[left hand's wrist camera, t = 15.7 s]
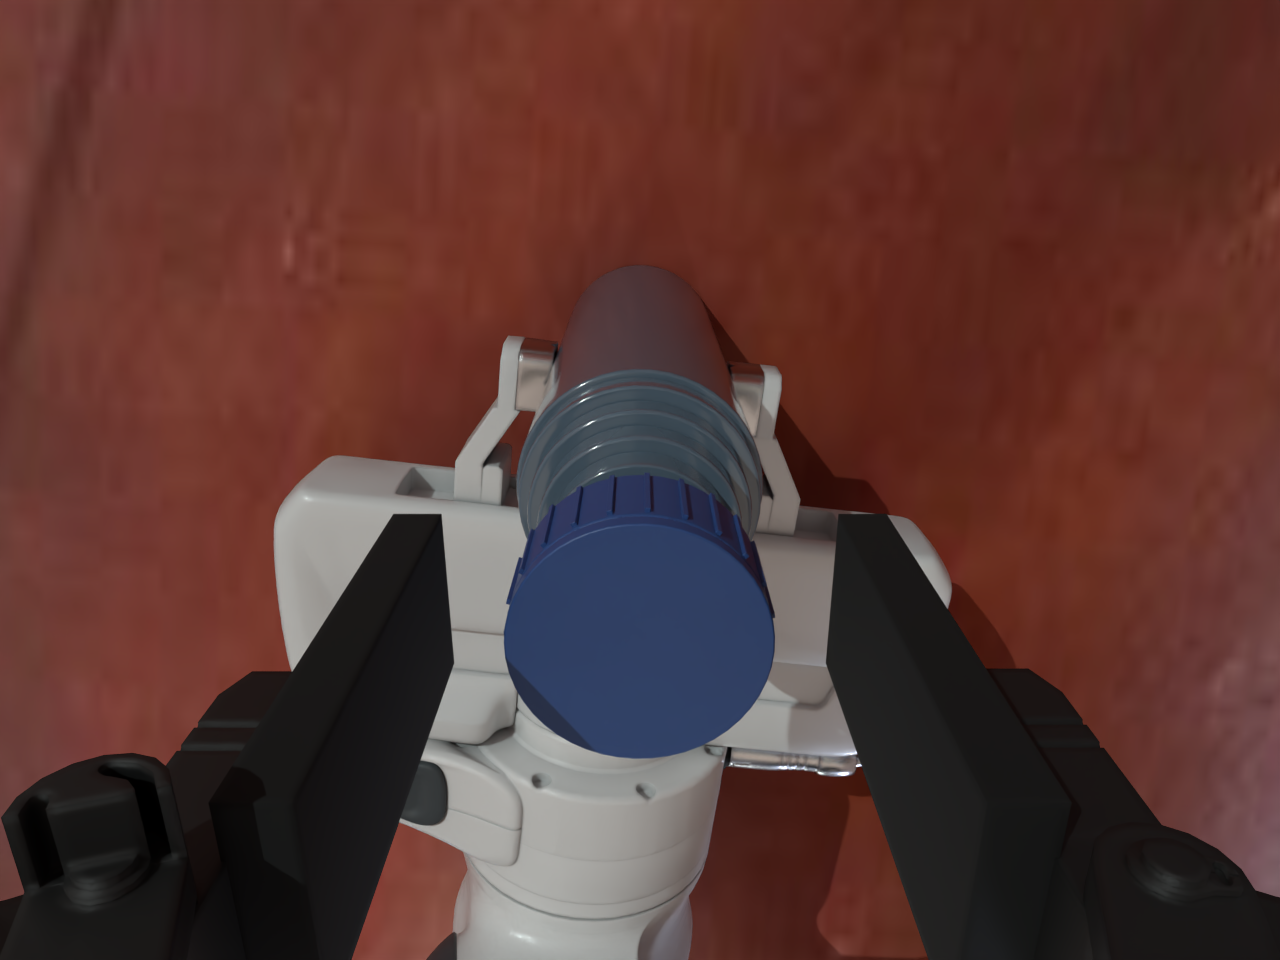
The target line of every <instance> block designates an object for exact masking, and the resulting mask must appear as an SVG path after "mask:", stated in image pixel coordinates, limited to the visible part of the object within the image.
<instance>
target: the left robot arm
mask: <svg viewBox="0 0 1280 960" xmlns="http://www.w3.org/2000/svg"><path fill="white" fill-rule="evenodd" d="M453 665H454V654H453V642H452V630H451V618H450V607H449V595H448V583H447V572H446V560H445V548H444V537H443V525H442V514H393V515H392V517H391V518H390V520H389V521H388V523H387V525H386V526H385V528H384V529H383V531H382V532H381V534H380V535H379V537H378V539H377V540H376V542H375V543H374V545H373V546H372V548H371V550H370V551H369V553H368V554H367V556H366V557H365V559H364V560H363V562H362V564H361V565H360V567H359V568H358V570H357V571H356V573H355V575H354V576H353V578H352V579H351V581H350V582H349V584H348V585H347V587H346V589H345V590H344V592H343V593H342V595H341V596H340V598H339V599H338V601H337V603H336V604H335V606H334V607H333V609H332V610H331V612H330V614H329V615H328V617H327V618H326V620H325V621H324V623H323V624H322V626H321V628H320V629H319V631H318V632H317V634H316V635H315V637H314V639H313V640H312V642H311V643H310V645H309V646H308V648H307V649H306V651H305V653H304V654H303V656H302V657H301V659H300V660H299V662H298V664H297V665H296V667H295V668H294V670H293V671H292V672H251V673H249V674H248V675H246V676H245V677H244V678H242V679H241V680H239V681H238V682H236V683H235V684H234V685H232V686H231V687H229V688H228V689H226V690H225V691H224V692H222V693H221V694H219V695H218V696H217V698H216V699H215V700H214V702H213V703H212V704H211V706H210V707H209V708H208V710H207V711H206V712H205V714H204V715H203V717H202V718H201V719H200V721H199V722H198V728H194V729H193V730H192V731H191V733H190V734H189V735H188V737H187V738H186V739H185V741H184V742H183V743H182V745H181V751H176V753H175V754H174V755H173V757H172V758H171V760H170V761H169V762H168V764H167V765H166V766H165V765H164V764H162V763H161V762H160V761H159V760H158V759H156V758H154V757H150V756H145V755H140V754H135V753H126V754H113V755H103V756H99V757H95V758H92V759H88V760H85V761H81V762H77V763H74V764H71V765H69V766H67V767H65V768H63V769H61V770H58V771H56V772H54V773H52V774H50V775H48V776H46V777H44V778H42V779H40V780H39V781H38V782H36V783H35V784H34V785H32V786H31V787H30V788H28V789H27V790H26V791H24V792H23V793H22V794H20V795H19V796H18V797H16V799H15V800H14V801H13V803H12V804H11V805H10V807H9V808H8V809H7V811H6V812H5V813H4V815H3V816H2V817H1V819H2V822H3V825H4V828H5V832H6V835H7V838H8V841H9V844H10V847H11V851H12V854H13V857H14V860H15V863H16V866H17V869H18V873H19V876H20V879H21V882H22V885H23V888H24V895H21V896H17V897H14V898H11V899H7V900H4V901H0V960H351V959H352V956H353V953H354V950H355V948H356V945H357V942H358V939H359V936H360V933H361V930H362V927H363V924H364V922H365V919H366V916H367V913H368V910H369V907H370V904H371V901H372V899H373V896H374V893H375V890H376V887H377V884H378V881H379V878H380V876H381V873H382V870H383V867H384V864H385V861H386V858H387V855H388V853H389V850H390V847H391V844H392V841H393V838H394V835H395V832H396V830H397V827H398V824H399V821H400V818H401V815H402V812H403V809H404V806H405V804H406V801H407V798H408V795H409V792H410V789H411V786H412V783H413V781H414V778H415V775H416V772H417V769H418V766H419V763H420V760H421V758H422V755H423V752H424V749H425V746H426V743H427V740H428V737H429V735H430V732H431V729H432V726H433V723H434V720H435V717H436V714H437V712H438V709H439V706H440V703H441V700H442V697H443V694H444V691H445V688H446V686H447V683H448V680H449V677H450V674H451V671H452V668H453ZM826 665H827V668H828V671H829V674H830V677H831V680H832V683H833V686H834V688H835V691H836V694H837V697H838V700H839V703H840V706H841V709H842V712H843V714H844V717H845V720H846V723H847V726H848V729H849V732H850V735H851V737H852V740H853V743H854V746H855V749H856V752H857V755H858V758H859V760H860V763H861V766H862V769H863V772H864V775H865V778H866V781H867V783H868V786H869V789H870V792H871V795H872V798H873V801H874V804H875V806H876V809H877V812H878V815H879V818H880V821H881V824H882V827H883V830H884V832H885V835H886V838H887V841H888V844H889V847H890V850H891V853H892V855H893V858H894V861H895V864H896V867H897V870H898V873H899V876H900V878H901V881H902V884H903V887H904V890H905V893H906V896H907V899H908V901H909V904H910V907H911V910H912V913H913V916H914V919H915V922H916V924H917V927H918V930H919V933H920V936H921V939H922V942H923V945H924V948H925V950H926V953H927V956H928V959H929V960H1280V897H1275V896H1272V895H1269V894H1265V893H1262V892H1259V891H1256V890H1255V889H1254V888H1253V886H1252V885H1251V883H1250V882H1249V880H1248V879H1247V877H1246V876H1245V874H1244V872H1243V871H1242V869H1241V868H1239V867H1238V866H1237V865H1236V864H1235V863H1233V862H1232V861H1231V860H1230V859H1229V858H1228V857H1226V856H1225V855H1224V854H1223V853H1222V852H1221V851H1219V850H1218V849H1217V848H1215V847H1213V846H1211V845H1209V844H1207V843H1205V842H1204V841H1202V840H1200V839H1198V838H1196V837H1194V836H1192V835H1191V834H1189V833H1185V832H1182V831H1179V830H1176V829H1173V828H1169V827H1166V826H1163V825H1161V824H1160V822H1159V821H1158V820H1157V818H1156V817H1155V816H1154V814H1153V813H1152V812H1151V810H1150V809H1149V808H1148V806H1147V805H1146V804H1145V802H1144V801H1143V800H1142V798H1141V797H1140V796H1139V794H1138V793H1137V792H1136V790H1135V789H1134V788H1133V786H1132V785H1131V784H1130V782H1129V781H1128V780H1127V778H1126V777H1125V776H1124V774H1123V773H1122V772H1121V770H1120V769H1119V768H1118V766H1117V765H1116V764H1115V762H1114V761H1113V760H1112V758H1111V757H1110V755H1109V754H1108V753H1107V751H1106V750H1105V749H1104V748H1100V745H1099V741H1098V739H1097V738H1096V737H1095V735H1094V734H1093V733H1092V731H1091V730H1090V729H1089V727H1088V726H1087V725H1083V722H1082V718H1081V717H1080V715H1079V714H1078V713H1077V711H1076V710H1075V709H1074V707H1073V706H1072V705H1071V703H1070V702H1069V701H1068V699H1067V698H1066V697H1065V695H1064V694H1063V693H1062V692H1061V691H1060V690H1058V689H1057V688H1055V687H1054V686H1052V685H1051V684H1050V683H1048V682H1047V681H1045V680H1044V679H1042V678H1041V677H1040V676H1038V675H1037V674H1035V673H1034V672H1032V671H1031V670H1029V669H986V668H985V667H984V665H983V664H982V662H981V660H980V659H979V657H978V656H977V654H976V653H975V651H974V649H973V648H972V646H971V645H970V643H969V642H968V640H967V639H966V637H965V635H964V634H963V632H962V631H961V629H960V628H959V626H958V624H957V623H956V621H955V620H954V618H953V617H952V615H951V614H950V612H949V610H948V609H947V607H946V606H945V604H944V603H943V601H942V599H941V598H940V596H939V595H938V593H937V592H936V590H935V589H934V587H933V585H932V584H931V582H930V581H929V579H928V578H927V576H926V575H925V573H924V571H923V570H922V568H921V567H920V565H919V564H918V562H917V560H916V559H915V557H914V556H913V554H912V553H911V551H910V550H909V548H908V546H907V545H906V543H905V542H904V540H903V539H902V537H901V535H900V534H899V532H898V531H897V529H896V528H895V526H894V525H893V523H892V521H891V520H890V518H889V517H888V515H887V514H838V525H837V537H836V548H835V560H834V572H833V583H832V595H831V607H830V618H829V630H828V642H827V654H826Z"/></svg>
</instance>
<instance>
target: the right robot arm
mask: <svg viewBox="0 0 1280 960" xmlns="http://www.w3.org/2000/svg"><path fill="white" fill-rule="evenodd" d="M557 353H558V342H556V341H548V340H541V339H533V338H525V337H519V336H508V337H507V339H506V340H505V342H504V344H503V349H502V355H501V361H500V377H499V393H498V397H497V399H496V400H495V401H494V403H493V404H492V406H491V407H490V408H489V410H488V411H487V413H486V414H485V415H484V417H483V418H482V420H481V421H480V423H479V424H478V425H477V427H476V428H475V430H474V431H473V432H472V434H471V435H470V437H469V438H468V440H467V442H466V443H465V445H464V447H463V449H462V450H461V452H460V454H459V456H458V458H457V459H456V462H455V468H451V467H442V466H433V465H424V464H415V463H406V462H397V461H388V460H378V459H369V458H361V457H352V456H332V457H329V458H327V459H326V460H324V461H323V462H322V463H321V464H319V465H318V466H317V467H316V468H315V469H313V470H312V471H311V472H310V473H309V474H308V475H306V476H305V477H304V478H303V479H302V480H301V481H300V482H299V483H298V484H297V485H296V486H295V487H294V489H293V490H292V491H291V492H290V493H289V494H288V496H287V497H286V498H285V500H284V501H283V503H282V504H281V506H280V508H279V510H278V513H277V515H276V519H275V525H274V559H275V573H276V585H277V594H278V602H279V609H280V616H281V623H282V629H283V635H284V640H285V646H286V651H287V655H288V660H289V664H290V668H291V671H293V670H294V668H295V667H296V665H297V664H298V662H299V660H300V659H301V657H302V656H303V654H304V653H305V651H306V649H307V648H308V646H309V645H310V643H311V642H312V640H313V639H314V637H315V635H316V634H317V632H318V631H319V629H320V628H321V626H322V624H323V623H324V621H325V620H326V618H327V617H328V615H329V614H330V612H331V610H332V609H333V607H334V606H335V604H336V603H337V601H338V599H339V598H340V596H341V595H342V593H343V592H344V590H345V589H346V587H347V585H348V584H349V582H350V581H351V579H352V578H353V576H354V575H355V573H356V571H357V570H358V568H359V567H360V565H361V564H362V562H363V560H364V559H365V557H366V556H367V554H368V553H369V551H370V550H371V548H372V546H373V545H374V543H375V542H376V540H377V539H378V537H379V535H380V534H381V532H382V531H383V529H384V528H385V526H386V525H387V523H388V521H389V520H390V518H391V517H392V515H393V514H442V525H443V537H444V548H445V560H446V572H447V583H448V595H449V607H450V618H451V630H452V642H453V654H454V665H453V668H452V671H451V674H450V677H449V680H448V683H447V686H446V688H445V691H444V694H443V697H442V700H441V703H440V706H439V709H438V712H437V714H436V717H435V720H434V723H433V726H432V729H431V732H430V735H429V737H428V740H427V743H426V746H425V749H424V752H423V755H422V758H421V760H420V763H419V766H418V769H417V772H416V775H415V778H414V781H413V783H412V786H411V789H410V792H409V795H408V798H407V801H406V804H405V806H404V809H403V812H402V815H401V818H400V821H399V822H400V823H402V824H405V825H408V826H410V827H412V828H415V829H417V830H419V831H422V832H424V833H426V834H429V835H431V836H433V837H435V838H437V839H439V840H441V841H444V842H446V843H448V844H450V845H451V846H453V847H455V848H457V849H459V850H461V851H463V853H464V857H465V860H466V864H467V868H468V871H467V873H466V875H465V877H464V879H463V881H462V884H461V887H460V890H459V893H458V896H457V899H456V904H455V910H454V920H453V933H452V934H450V935H449V936H448V937H447V938H446V939H445V940H444V941H442V942H441V943H440V944H439V945H438V947H437V948H436V949H435V950H434V951H433V952H432V953H431V954H430V956H429V957H428V958H427V959H426V960H688V957H689V952H690V948H691V940H692V927H693V922H692V910H691V905H690V900H689V895H690V893H691V892H692V890H693V889H694V887H695V885H696V883H697V881H698V879H699V877H700V875H701V873H702V871H703V868H704V865H705V862H706V858H707V855H708V850H709V844H710V838H711V833H712V827H713V822H714V816H715V811H716V805H717V800H718V795H719V790H720V785H721V777H722V771H723V769H725V768H726V766H727V767H737V768H747V769H758V770H772V771H778V770H780V771H782V770H794V769H795V770H798V771H802V770H803V771H809V772H814V773H815V774H818V775H822V776H830V777H842V776H851V775H853V774H854V773H855V771H856V767H862V766H861V763H860V760H859V758H858V755H857V752H856V749H855V746H854V743H853V740H852V737H851V735H850V732H849V729H848V726H847V723H846V720H845V717H844V714H843V712H842V709H841V706H840V703H839V700H838V697H837V694H836V691H835V688H834V686H833V683H832V680H831V677H830V674H829V671H828V668H827V665H826V654H827V642H828V630H829V618H830V607H831V595H832V583H833V572H834V560H835V548H836V537H837V525H838V514H873V513H864V512H854V511H845V510H836V509H827V508H818V507H809V506H799V504H800V497H799V494H798V492H797V489H796V487H795V484H794V482H793V479H792V476H791V474H790V471H789V469H788V466H787V464H786V461H785V458H784V456H783V453H782V451H781V448H780V446H779V443H778V440H777V438H776V436H775V434H774V430H775V424H776V418H777V413H778V407H779V401H780V396H781V390H782V377H781V374H780V372H779V370H778V368H777V367H776V366H769V365H760V364H751V363H742V362H732V361H728V362H727V364H726V365H727V368H728V370H729V373H730V376H731V378H732V381H733V384H734V387H735V389H736V392H737V395H738V398H739V400H740V403H741V406H742V409H743V411H744V414H745V417H746V420H747V422H748V425H749V428H750V431H751V433H752V436H753V439H754V442H755V444H756V447H757V450H758V453H759V456H760V461H761V465H762V467H763V470H764V472H765V473H764V475H763V493H762V502H761V509H760V516H759V521H758V525H757V529H756V531H755V534H754V537H753V539H752V541H755V544H756V547H757V550H758V554H759V558H760V561H761V565H762V568H763V572H764V575H765V579H766V583H767V587H768V591H769V594H770V598H771V602H772V605H773V609H774V612H775V618H773V623H774V631H775V652H774V658H773V664H772V668H771V671H770V674H769V677H768V680H767V682H766V684H765V686H764V688H763V690H762V692H761V694H760V696H759V697H758V699H757V700H756V702H755V703H754V705H753V706H752V707H751V709H750V710H749V711H748V712H747V713H746V714H745V715H744V716H743V718H742V719H741V720H740V721H739V722H737V723H736V724H735V725H734V726H733V727H731V728H730V729H729V730H728V731H726V732H725V733H723V734H722V735H720V736H719V737H717V738H716V739H714V740H712V741H710V742H708V743H706V744H704V745H702V746H700V747H698V748H695V749H692V750H690V751H687V752H684V753H680V754H676V755H672V756H667V757H660V758H652V759H629V758H618V757H613V756H607V755H602V754H599V753H596V752H592V751H589V750H586V749H584V748H581V747H579V746H577V745H575V744H572V743H570V742H569V741H567V740H565V739H563V738H562V737H560V736H558V735H557V734H555V733H554V732H553V731H551V730H550V729H549V728H547V727H546V726H545V725H544V724H543V723H542V722H541V721H540V720H539V719H538V718H537V717H535V716H534V715H533V714H532V712H531V711H530V710H529V708H528V707H527V706H526V705H525V703H524V702H523V701H522V699H521V697H520V695H519V694H518V692H517V690H516V689H515V687H514V684H513V682H512V679H511V677H510V675H509V671H508V667H507V663H506V659H505V651H504V628H505V623H506V618H507V613H508V609H509V606H510V605H508V604H506V601H507V597H508V594H509V590H510V587H511V583H512V580H513V576H514V573H515V569H516V565H517V562H518V558H519V557H521V558H522V557H523V553H524V550H525V546H526V542H527V538H526V536H525V533H524V530H523V527H522V524H521V519H520V513H519V506H518V498H517V485H516V477H517V475H516V474H511V458H512V447H511V446H510V444H507V443H499V440H500V439H501V437H502V436H503V435H504V433H505V432H506V430H507V429H508V428H509V426H510V425H511V423H512V422H513V420H514V419H515V418H516V416H517V415H518V413H519V412H520V410H524V411H535V412H536V410H537V407H538V404H539V402H540V399H541V396H542V393H543V391H544V388H545V385H546V383H547V380H548V377H549V374H550V372H551V369H552V366H553V364H554V361H555V358H556V355H557ZM888 517H889V518H890V520H891V521H892V523H893V525H894V526H895V528H896V529H897V531H898V532H899V534H900V535H901V537H902V539H903V540H904V542H905V543H906V545H907V546H908V548H909V550H910V551H911V553H912V554H913V556H914V557H915V559H916V560H917V562H918V564H919V565H920V567H921V568H922V570H923V571H924V573H925V575H926V576H927V578H928V579H929V581H930V582H931V584H932V585H933V587H934V589H935V590H936V592H937V593H938V595H939V596H940V598H941V599H942V601H943V603H944V604H945V606H946V607H947V609H948V606H949V603H950V599H951V594H952V585H951V580H950V576H949V574H948V571H947V569H946V567H945V565H944V563H943V562H942V560H941V558H940V556H939V555H938V553H937V551H936V550H935V548H934V547H933V545H932V544H931V543H930V541H929V540H928V539H927V538H926V537H925V535H924V534H923V533H922V532H921V530H920V529H919V528H918V527H917V526H916V524H914V523H913V522H912V521H911V520H909V519H907V518H904V517H899V516H891V515H888Z"/></svg>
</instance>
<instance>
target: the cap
mask: <svg viewBox="0 0 1280 960" xmlns="http://www.w3.org/2000/svg"><path fill="white" fill-rule="evenodd" d="M506 604H508V605H510V606H509V609H508V613H507V618H506V623H505V628H504V651H505V659H506V663H507V667H508V671H509V675H510V677H511V679H512V682H513V684H514V687H515V689H516V690H517V692H518V694H519V695H520V697H521V699H522V701H523V702H524V703H525V705H526V706H527V707H528V708H529V710H530V711H531V712H532V714H533V715H534V716H535V717H537V718H538V719H539V720H540V721H541V722H542V723H543V724H544V725H545V726H546V727H547V728H549V729H550V730H551V731H553V732H554V733H555V734H557V735H558V736H560V737H562V738H563V739H565V740H567V741H569V742H570V743H572V744H575V745H577V746H579V747H581V748H584V749H586V750H589V751H592V752H596V753H599V754H602V755H607V756H613V757H618V758H629V759H652V758H660V757H667V756H672V755H676V754H680V753H684V752H687V751H690V750H692V749H695V748H698V747H700V746H702V745H704V744H706V743H708V742H710V741H712V740H714V739H716V738H717V737H719V736H720V735H722V734H723V733H725V732H726V731H728V730H729V729H730V728H731V727H733V726H734V725H735V724H736V723H737V722H739V721H740V720H741V719H742V718H743V716H744V715H745V714H746V713H747V712H748V711H749V710H750V709H751V707H752V706H753V705H754V703H755V702H756V700H757V699H758V697H759V696H760V694H761V692H762V690H763V688H764V686H765V684H766V682H767V680H768V677H769V674H770V671H771V668H772V664H773V658H774V652H775V631H774V623H773V618H775V612H774V609H773V605H772V602H771V598H770V594H769V591H768V587H767V583H766V579H765V575H764V572H763V568H762V565H761V561H760V558H759V554H758V550H757V547H756V544H755V541H751V542H750V539H749V537H748V535H747V534H746V532H745V530H744V529H743V527H742V525H741V522H740V518H739V516H738V515H737V514H736V515H734V516H733V514H732V513H731V512H730V511H729V510H728V509H727V508H725V507H724V506H723V505H722V504H721V503H720V502H719V501H717V500H716V498H715V495H714V494H712V493H710V494H709V495H708V494H707V493H705V492H703V491H701V490H700V489H698V488H696V487H694V486H692V485H689V484H686V483H685V482H684V480H683V479H680V478H679V480H674V479H669V478H665V477H660V476H650V473H644V475H627V476H621V477H615V475H610V476H609V479H606V480H602V481H598V482H595V483H593V484H590V485H588V486H586V487H583V488H582V486H579V487H577V489H576V492H574V493H572V494H571V495H569V496H567V497H566V498H565V499H563V500H562V501H561V502H559V503H558V504H557V505H556V506H555V505H554V504H552V505H551V506H550V507H549V510H548V514H547V515H546V516H545V517H544V518H543V519H542V521H541V522H540V523H539V525H538V526H537V527H536V529H535V530H534V529H531V530H530V532H529V535H528V539H527V542H526V546H525V550H524V553H523V557H522V558H521V557H519V558H518V562H517V565H516V569H515V573H514V576H513V580H512V583H511V587H510V590H509V594H508V597H507V601H506Z"/></svg>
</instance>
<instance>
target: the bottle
mask: <svg viewBox="0 0 1280 960" xmlns="http://www.w3.org/2000/svg"><path fill="white" fill-rule="evenodd" d="M644 473H650V476H660V477H665V478H669V479H674V480H679V478H680V479H683V480H684V482H685V483H686V484H689V485H692V486H694V487H696V488H698V489H700V490H701V491H703V492H705V493H707V494H708V495H709V494H710V493H712V494H714V495H715V498H716V500H717V501H719V502H720V503H721V504H722V505H723V506H724V507H725V508H727V509H728V510H729V511H730V512H731V513H732V514H733V516H734V515H736V514H737V515H738V516H739V518H740V522H741V525H742V527H743V529H744V530H745V532H746V534H747V535H748V537H749V539H750V542H751V541H752V539H753V537H754V534H755V531H756V529H757V525H758V521H759V516H760V509H761V502H762V493H763V474H762V466H761V461H760V456H759V453H758V450H757V447H756V444H755V442H754V439H753V436H752V433H751V431H750V428H749V425H748V422H747V420H746V417H745V414H744V411H743V409H742V406H741V403H740V400H739V398H738V395H737V392H736V389H735V387H734V384H733V381H732V378H731V376H730V373H729V370H728V368H727V365H726V362H725V359H724V357H723V354H722V351H721V348H720V346H719V343H718V340H717V337H716V335H715V332H714V329H713V326H712V324H711V321H710V318H709V315H708V313H707V310H706V308H705V306H704V304H703V302H702V300H701V298H700V297H699V295H698V294H697V293H696V291H695V290H694V289H693V288H692V287H691V286H690V285H689V284H688V283H687V282H685V281H684V280H683V279H682V278H680V277H678V276H677V275H675V274H673V273H671V272H669V271H667V270H664V269H661V268H658V267H652V266H644V265H635V266H627V267H623V268H619V269H616V270H613V271H611V272H608V273H607V274H605V275H603V276H601V277H600V278H598V279H597V280H596V281H594V282H593V283H592V284H591V285H590V286H589V287H588V288H587V289H586V290H585V291H584V293H583V294H582V295H581V297H580V298H579V300H578V302H577V303H576V305H575V307H574V310H573V312H572V315H571V318H570V320H569V323H568V326H567V328H566V331H565V334H564V336H563V339H562V342H561V345H560V347H559V350H558V353H557V355H556V358H555V361H554V364H553V366H552V369H551V372H550V374H549V377H548V380H547V383H546V385H545V388H544V391H543V393H542V396H541V399H540V402H539V404H538V407H537V410H536V412H535V415H534V418H533V420H532V423H531V426H530V429H529V431H528V434H527V437H526V439H525V442H524V445H523V448H522V451H521V455H520V458H519V462H518V469H517V477H516V485H517V498H518V506H519V513H520V519H521V524H522V527H523V530H524V533H525V536H526V538H527V539H528V535H529V532H530V530H531V529H534V530H535V529H536V527H537V526H538V525H539V523H540V522H541V521H542V519H543V518H544V517H545V516H546V515H547V514H548V510H549V507H550V506H551V505H552V504H554V505H555V506H556V505H557V504H558V503H559V502H561V501H562V500H563V499H565V498H566V497H567V496H569V495H571V494H572V493H574V492H576V489H577V487H579V486H582V488H583V487H586V486H588V485H590V484H593V483H595V482H598V481H602V480H606V479H609V476H610V475H615V477H621V476H627V475H644Z"/></svg>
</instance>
